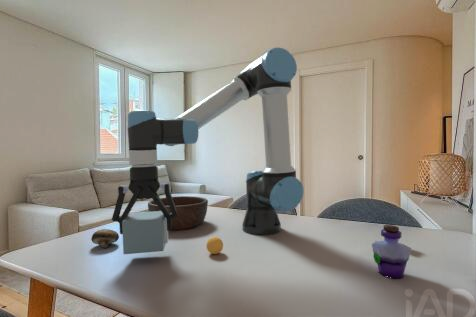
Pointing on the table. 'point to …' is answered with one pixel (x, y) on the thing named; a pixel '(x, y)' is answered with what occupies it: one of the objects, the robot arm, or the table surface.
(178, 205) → the wooden bowl
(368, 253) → the table surface
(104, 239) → the mushroom
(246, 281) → the table surface
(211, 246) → the ball
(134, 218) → the smooth grey cuboid
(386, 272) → the potion bottle
